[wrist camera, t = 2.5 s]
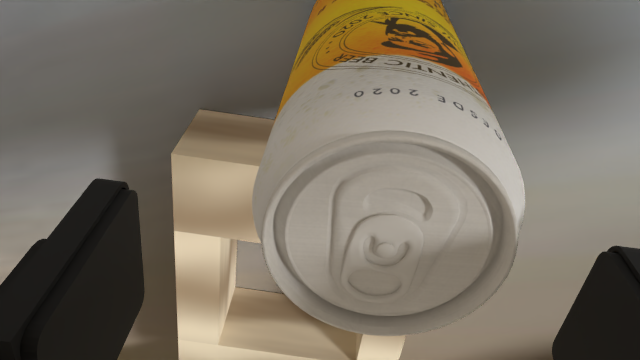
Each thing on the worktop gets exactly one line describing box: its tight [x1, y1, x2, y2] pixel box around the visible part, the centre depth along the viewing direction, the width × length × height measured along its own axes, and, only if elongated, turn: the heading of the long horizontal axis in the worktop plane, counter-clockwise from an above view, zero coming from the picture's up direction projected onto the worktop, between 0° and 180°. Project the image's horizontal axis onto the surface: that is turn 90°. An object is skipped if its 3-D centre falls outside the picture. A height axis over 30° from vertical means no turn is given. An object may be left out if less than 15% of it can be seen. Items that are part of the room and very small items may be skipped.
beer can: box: [252, 0, 525, 336], centre depth 17 cm, size 6×6×15 cm
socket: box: [171, 109, 406, 360], centre depth 29 cm, size 16×12×4 cm
